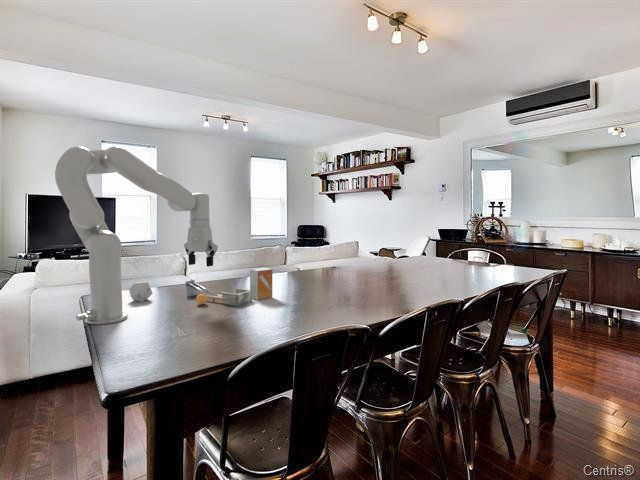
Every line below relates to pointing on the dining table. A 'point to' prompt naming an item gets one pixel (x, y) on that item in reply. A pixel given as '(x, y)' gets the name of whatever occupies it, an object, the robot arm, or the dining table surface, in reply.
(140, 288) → the die
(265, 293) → the small box
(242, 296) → the lane
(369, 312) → the dining table surface
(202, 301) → the ball
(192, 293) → the ramp
